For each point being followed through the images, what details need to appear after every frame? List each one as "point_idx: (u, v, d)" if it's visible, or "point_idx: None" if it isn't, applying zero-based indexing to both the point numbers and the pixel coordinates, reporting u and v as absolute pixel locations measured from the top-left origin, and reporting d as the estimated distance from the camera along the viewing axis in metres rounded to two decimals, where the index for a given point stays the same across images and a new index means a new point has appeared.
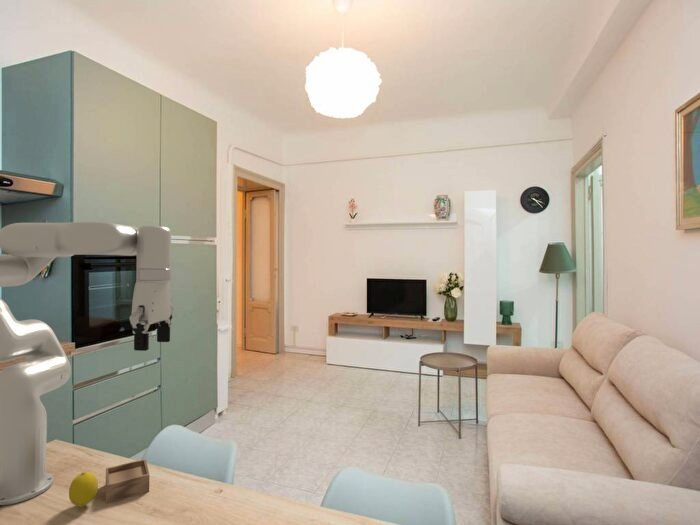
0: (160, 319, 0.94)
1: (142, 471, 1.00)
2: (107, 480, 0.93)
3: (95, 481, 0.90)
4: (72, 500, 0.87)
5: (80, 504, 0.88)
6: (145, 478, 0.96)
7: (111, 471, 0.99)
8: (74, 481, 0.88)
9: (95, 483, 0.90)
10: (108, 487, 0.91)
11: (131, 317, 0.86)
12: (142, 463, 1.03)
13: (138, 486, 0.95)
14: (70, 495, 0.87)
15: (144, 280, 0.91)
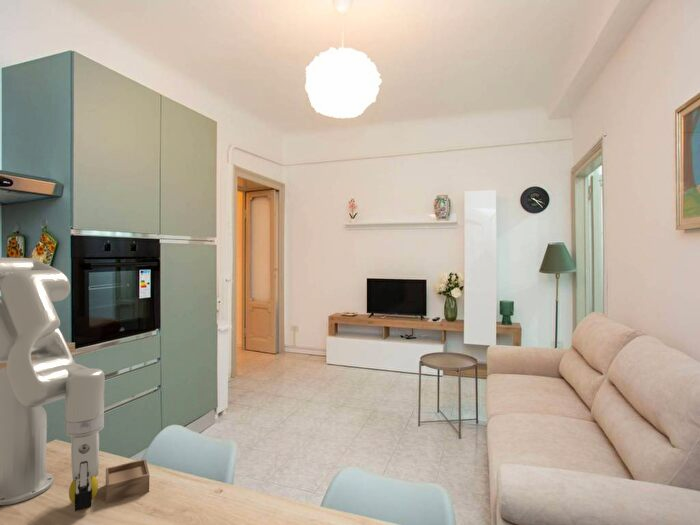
0: None
1: (142, 471, 1.00)
2: (107, 480, 0.93)
3: (95, 481, 0.90)
4: (72, 500, 0.87)
5: None
6: (145, 478, 0.96)
7: (111, 471, 0.99)
8: (74, 481, 0.88)
9: (95, 483, 0.90)
10: (108, 487, 0.91)
11: None
12: (142, 463, 1.03)
13: (138, 486, 0.95)
14: (70, 495, 0.87)
15: None
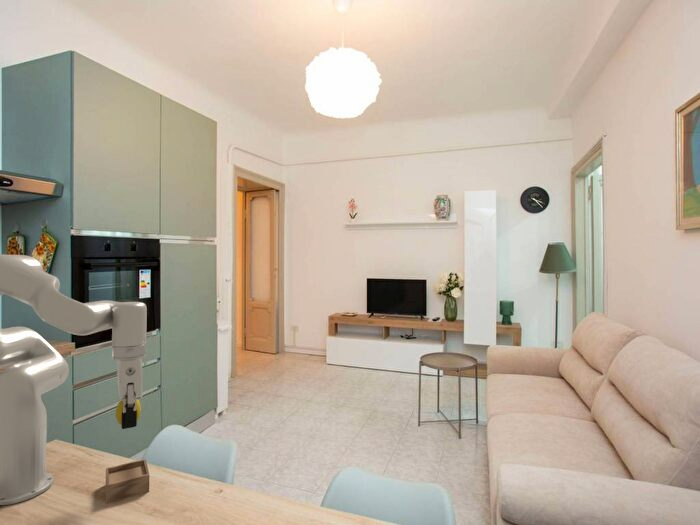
0: None
1: (142, 471, 1.00)
2: (107, 480, 0.93)
3: (139, 404, 0.98)
4: (119, 419, 0.95)
5: None
6: (145, 478, 0.96)
7: (111, 471, 0.99)
8: (120, 403, 0.96)
9: (139, 406, 0.98)
10: (108, 487, 0.91)
11: None
12: (142, 463, 1.03)
13: (138, 486, 0.95)
14: (117, 415, 0.95)
15: None
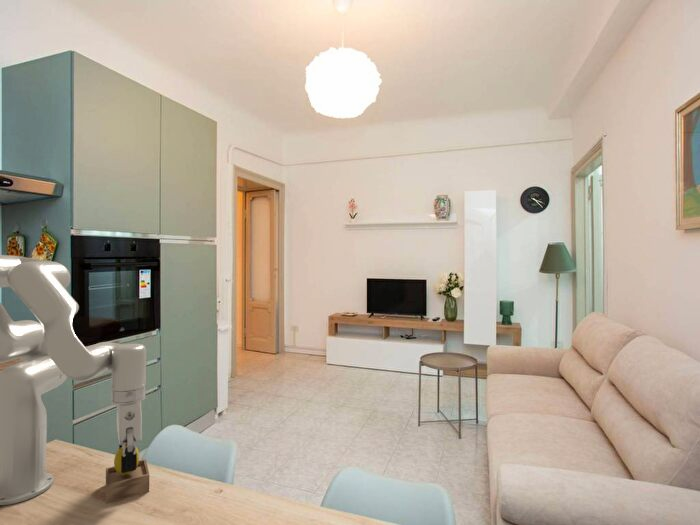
0: None
1: (142, 471, 1.00)
2: (107, 480, 0.93)
3: (137, 452, 0.98)
4: (117, 469, 0.95)
5: (124, 473, 0.96)
6: (145, 478, 0.96)
7: (111, 471, 0.99)
8: (119, 452, 0.96)
9: (137, 454, 0.98)
10: (108, 487, 0.91)
11: None
12: (142, 463, 1.03)
13: (138, 486, 0.95)
14: (115, 464, 0.95)
15: None
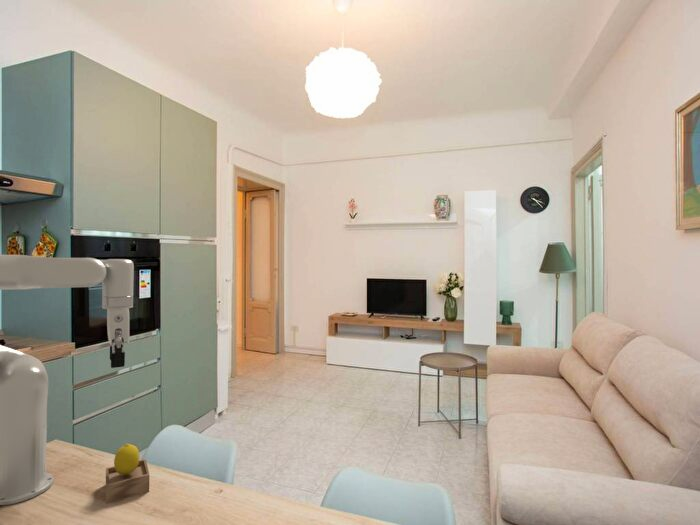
0: None
1: (142, 471, 1.00)
2: (107, 480, 0.93)
3: (137, 452, 0.98)
4: (117, 469, 0.95)
5: (124, 473, 0.96)
6: (145, 478, 0.96)
7: (111, 471, 0.99)
8: (119, 452, 0.96)
9: (137, 454, 0.98)
10: (108, 487, 0.91)
11: None
12: (142, 463, 1.03)
13: (138, 486, 0.95)
14: (115, 464, 0.95)
15: None
